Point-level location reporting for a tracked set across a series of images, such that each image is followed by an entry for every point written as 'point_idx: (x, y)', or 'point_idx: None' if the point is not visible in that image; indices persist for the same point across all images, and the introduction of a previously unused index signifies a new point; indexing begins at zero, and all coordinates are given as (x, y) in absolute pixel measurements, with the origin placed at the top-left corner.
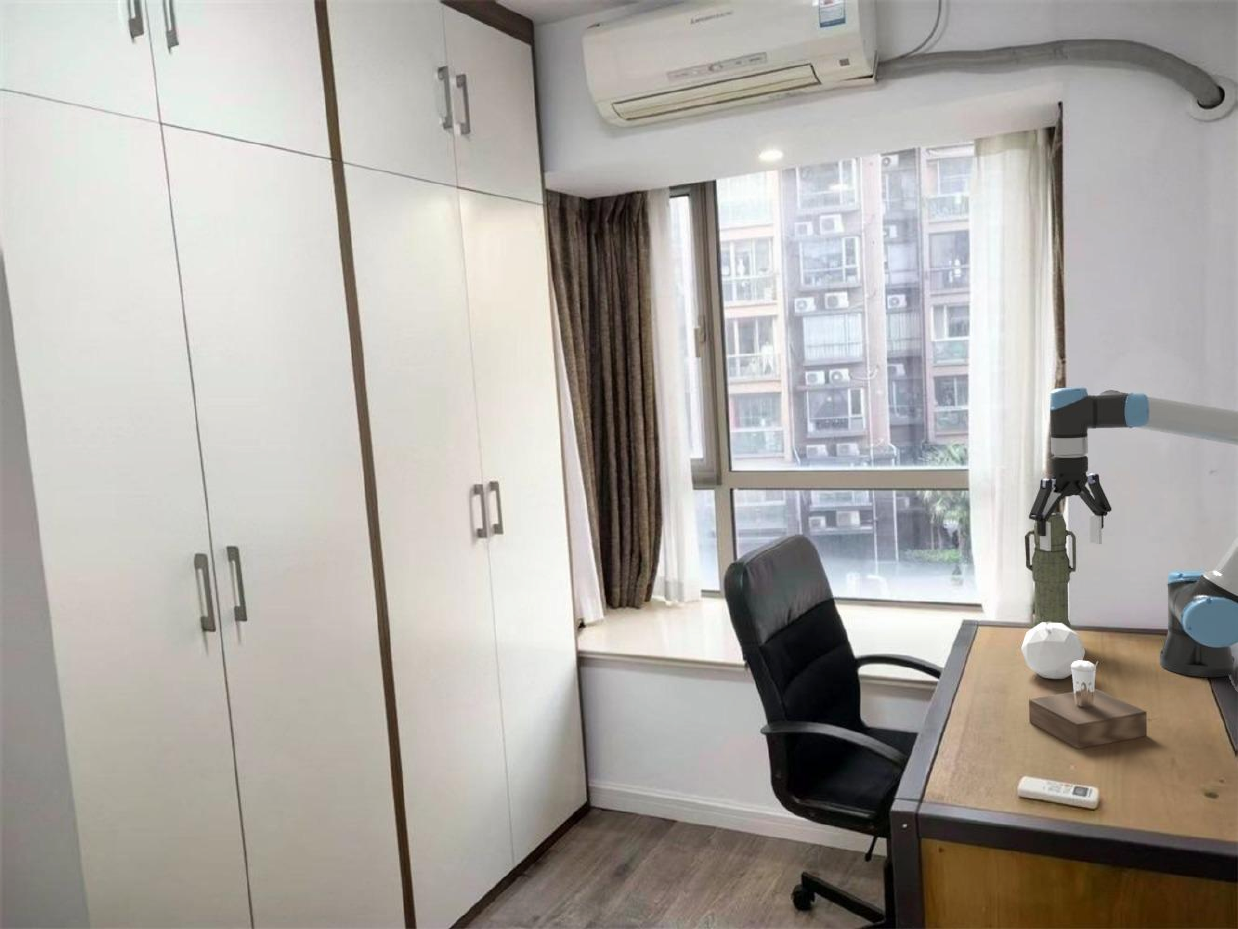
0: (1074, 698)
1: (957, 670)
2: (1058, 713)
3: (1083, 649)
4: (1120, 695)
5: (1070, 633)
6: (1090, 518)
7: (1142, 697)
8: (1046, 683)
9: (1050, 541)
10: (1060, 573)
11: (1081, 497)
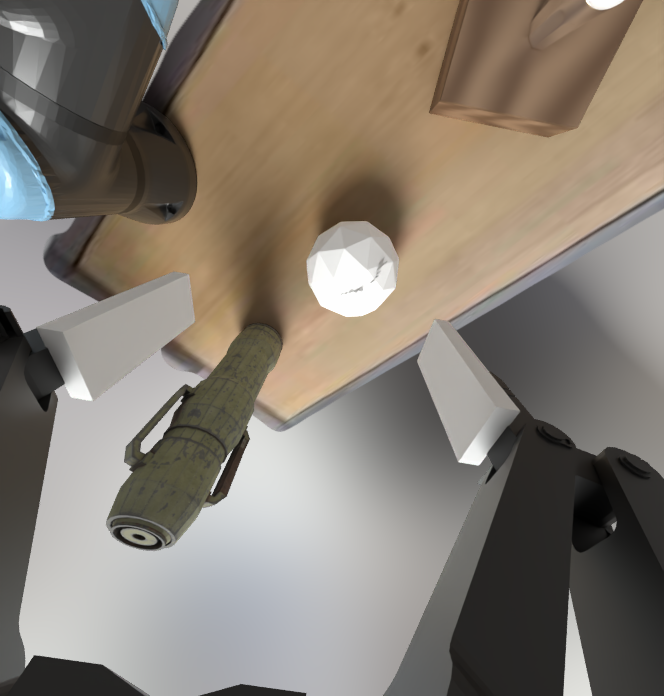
0: (561, 38)
1: None
2: (631, 15)
3: (323, 234)
4: (339, 142)
5: (346, 245)
6: (112, 382)
7: (319, 112)
8: None
9: (449, 338)
10: (219, 390)
11: (15, 573)
